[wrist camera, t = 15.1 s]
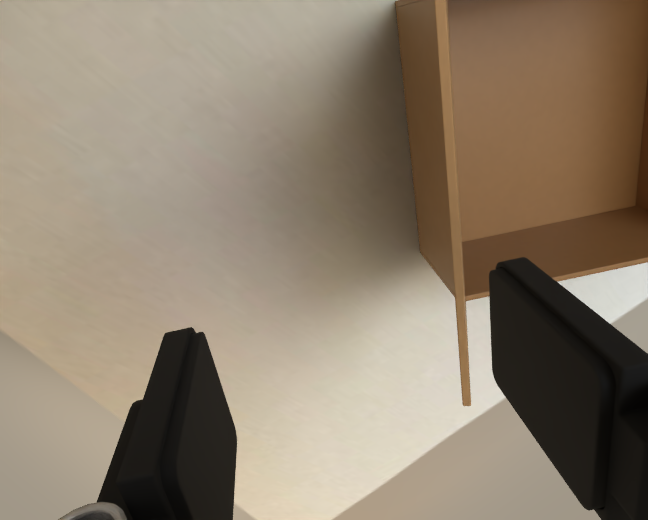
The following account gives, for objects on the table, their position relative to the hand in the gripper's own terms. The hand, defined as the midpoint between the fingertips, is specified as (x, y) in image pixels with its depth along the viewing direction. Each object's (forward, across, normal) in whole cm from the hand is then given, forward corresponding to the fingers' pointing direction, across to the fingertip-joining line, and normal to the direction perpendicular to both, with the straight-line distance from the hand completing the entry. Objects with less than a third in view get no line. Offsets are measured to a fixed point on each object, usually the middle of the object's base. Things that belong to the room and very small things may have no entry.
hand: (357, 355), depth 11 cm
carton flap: (+9, -6, 0) cm, 10 cm away
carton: (+20, -14, 0) cm, 24 cm away
